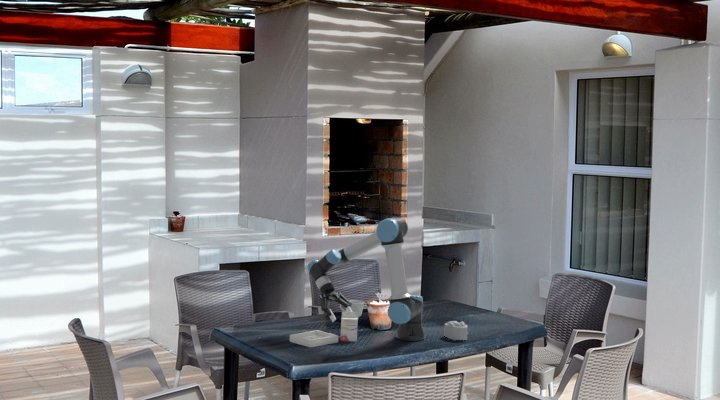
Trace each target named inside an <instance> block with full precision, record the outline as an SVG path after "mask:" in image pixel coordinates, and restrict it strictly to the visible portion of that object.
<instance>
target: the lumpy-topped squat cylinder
mask: <svg viewBox="0 0 720 400" xmlns="http://www.w3.org/2000/svg"><path fill="white" fill-rule="evenodd" d="M468 328H469V327H468V324H466V323H465V322H464V321H460V322H459V321H457V320H449V321H447V322H445V323H444V326H443V337H444V336H445V337H448V338H450V339H454V340H453V341H456V340H463V341H462V342H464V340H466V341H467V340H468ZM445 337H444V338H445ZM450 339H449V340H450Z"/></svg>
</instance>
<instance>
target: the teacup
mask: <svg viewBox="0 0 720 400" xmlns="http://www.w3.org/2000/svg"><path fill="white" fill-rule="evenodd" d="M348 300H349V301H350V302H351V303H352V305H351V306H350V307H351V309H352V310H353V312H357V318H358V320H359V319H360V318H359V317H361V316H362V314H363V310H364V309H363V308H364V304H365V301H364V300H360V299H348ZM339 308H340V310H341V311H347V310H346V308H343V307H342V305H341V304H340V303H339ZM347 315H349V314H347Z"/></svg>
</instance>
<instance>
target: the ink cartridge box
mask: <svg viewBox="0 0 720 400" xmlns="http://www.w3.org/2000/svg"><path fill="white" fill-rule="evenodd" d="M349 313H350V314H352V315H347V314H349ZM340 321H341V322H340V341H341V342H357V341H358V325H359V324H358V321H359V319H358V318H357V312H348V311H343V310H341V318H340Z"/></svg>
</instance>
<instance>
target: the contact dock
mask: <svg viewBox="0 0 720 400" xmlns="http://www.w3.org/2000/svg"><path fill="white" fill-rule="evenodd" d="M289 342H291V343H293V344H297V345H300V346H305V347H307V348H315V347H319V346H320V347H321V346H325V345H331V344H336V343H339V335H338V334H334V333H330V332H325V331H323V330H318V329H316V330H310V331H304V332H299V333H292V334H289Z"/></svg>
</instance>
